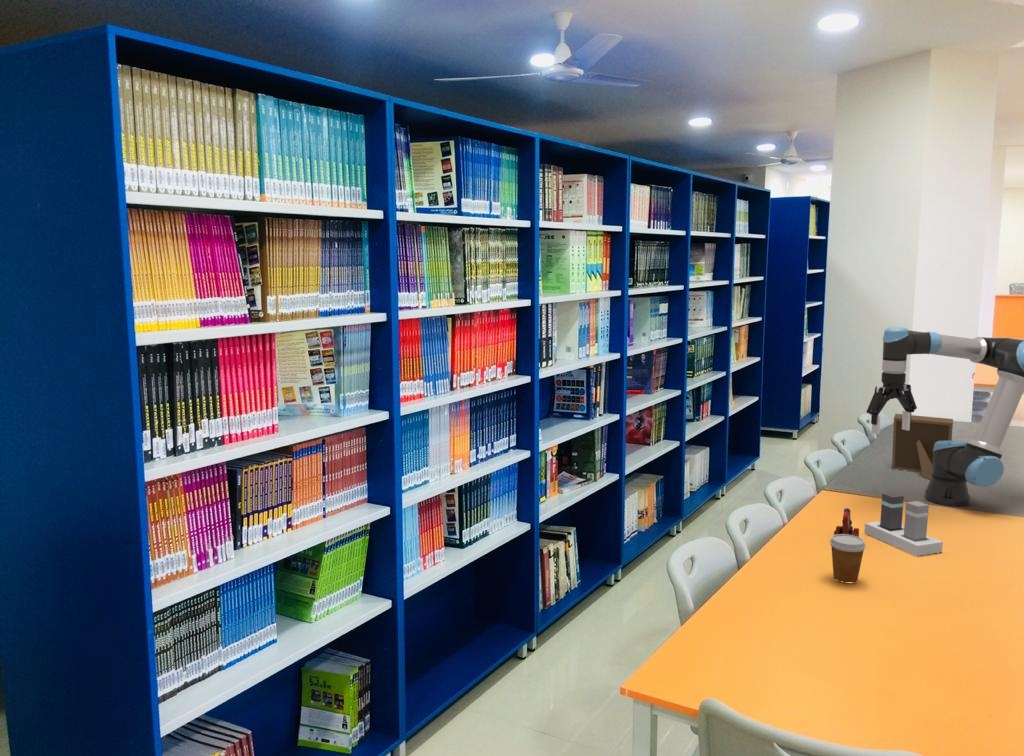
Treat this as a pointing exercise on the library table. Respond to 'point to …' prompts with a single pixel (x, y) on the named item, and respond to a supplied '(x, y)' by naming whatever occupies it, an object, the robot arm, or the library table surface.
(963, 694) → the library table surface
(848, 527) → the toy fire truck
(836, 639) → the library table surface
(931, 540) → the white slotted plate
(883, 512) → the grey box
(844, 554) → the disposable coffee cup
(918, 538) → the grey square plug
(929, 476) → the photo frame
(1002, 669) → the library table surface
